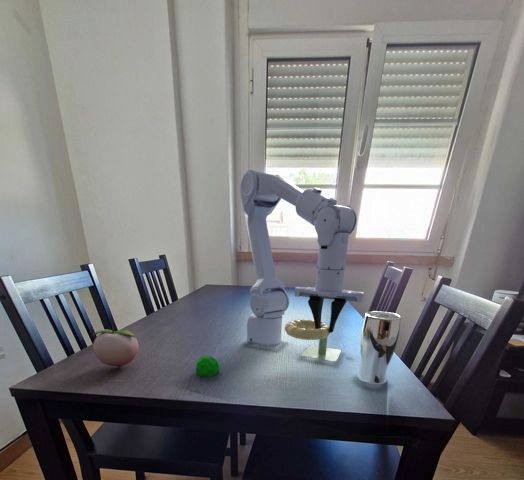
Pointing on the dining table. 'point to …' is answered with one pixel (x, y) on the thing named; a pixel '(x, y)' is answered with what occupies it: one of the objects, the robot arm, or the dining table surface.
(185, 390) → the dining table surface
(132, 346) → the decorative fruit
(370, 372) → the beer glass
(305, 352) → the post stand
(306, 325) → the ring
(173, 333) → the dining table surface
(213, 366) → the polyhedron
